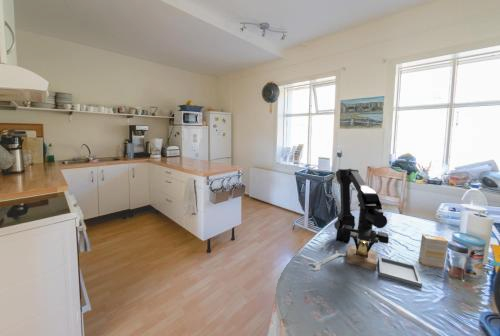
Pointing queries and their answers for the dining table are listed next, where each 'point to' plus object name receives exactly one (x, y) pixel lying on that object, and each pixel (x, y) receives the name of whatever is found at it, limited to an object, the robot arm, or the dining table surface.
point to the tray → (399, 272)
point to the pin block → (362, 258)
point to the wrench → (326, 260)
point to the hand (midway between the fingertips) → (362, 250)
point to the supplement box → (433, 251)
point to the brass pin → (362, 248)
